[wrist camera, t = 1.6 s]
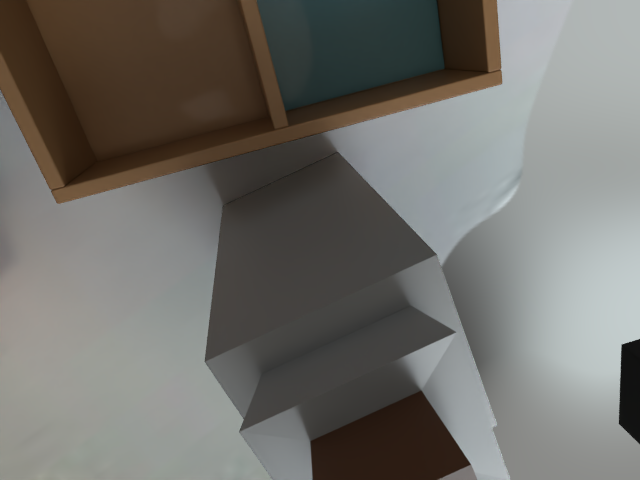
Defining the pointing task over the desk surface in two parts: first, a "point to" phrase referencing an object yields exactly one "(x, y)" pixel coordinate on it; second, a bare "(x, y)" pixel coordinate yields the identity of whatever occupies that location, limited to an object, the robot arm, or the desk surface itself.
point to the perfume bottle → (343, 338)
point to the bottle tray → (222, 76)
